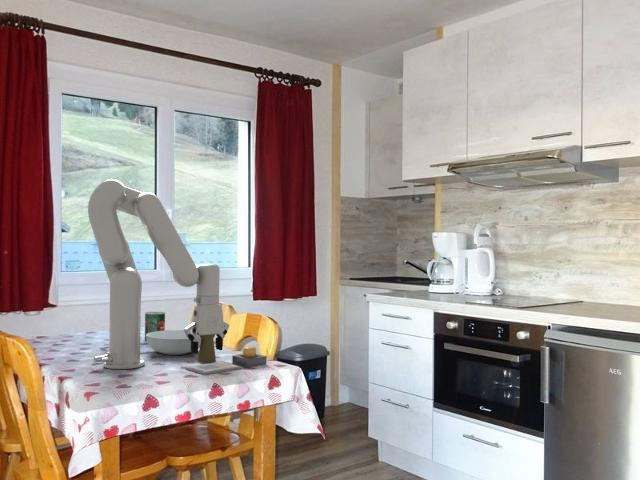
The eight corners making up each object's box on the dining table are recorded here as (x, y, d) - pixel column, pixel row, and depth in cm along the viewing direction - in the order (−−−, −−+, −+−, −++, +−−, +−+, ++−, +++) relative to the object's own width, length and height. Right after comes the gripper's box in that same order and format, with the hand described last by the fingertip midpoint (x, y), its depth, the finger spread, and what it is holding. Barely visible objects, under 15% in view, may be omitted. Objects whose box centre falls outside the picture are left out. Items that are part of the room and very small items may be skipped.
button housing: (247, 367, 189) (247, 359, 189) (232, 363, 195) (232, 355, 195) (266, 364, 195) (266, 356, 195) (251, 360, 201) (251, 352, 201)
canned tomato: (143, 338, 242) (143, 312, 242) (162, 337, 245) (163, 311, 245) (146, 341, 235) (146, 314, 235) (166, 340, 238) (166, 313, 238)
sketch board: (204, 375, 178) (204, 372, 178) (185, 369, 186) (185, 366, 186) (242, 368, 188) (242, 365, 188) (222, 363, 196) (222, 360, 196)
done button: (248, 359, 192) (248, 349, 192) (240, 357, 195) (240, 347, 195) (258, 357, 195) (259, 348, 195) (250, 355, 198) (250, 346, 198)
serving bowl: (190, 360, 201) (191, 339, 201) (134, 356, 205) (135, 337, 205) (213, 349, 221) (214, 331, 221) (162, 346, 225) (162, 328, 225)
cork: (218, 359, 201) (218, 327, 201) (213, 363, 195) (213, 330, 195) (200, 359, 202) (201, 327, 202) (195, 362, 196) (195, 329, 196)
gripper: (191, 303, 190) (190, 356, 190) (235, 300, 202) (234, 350, 202) (179, 301, 195) (178, 352, 195) (222, 298, 207) (221, 347, 207)
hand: (207, 351), depth 199 cm, fingers open, 9 cm apart
